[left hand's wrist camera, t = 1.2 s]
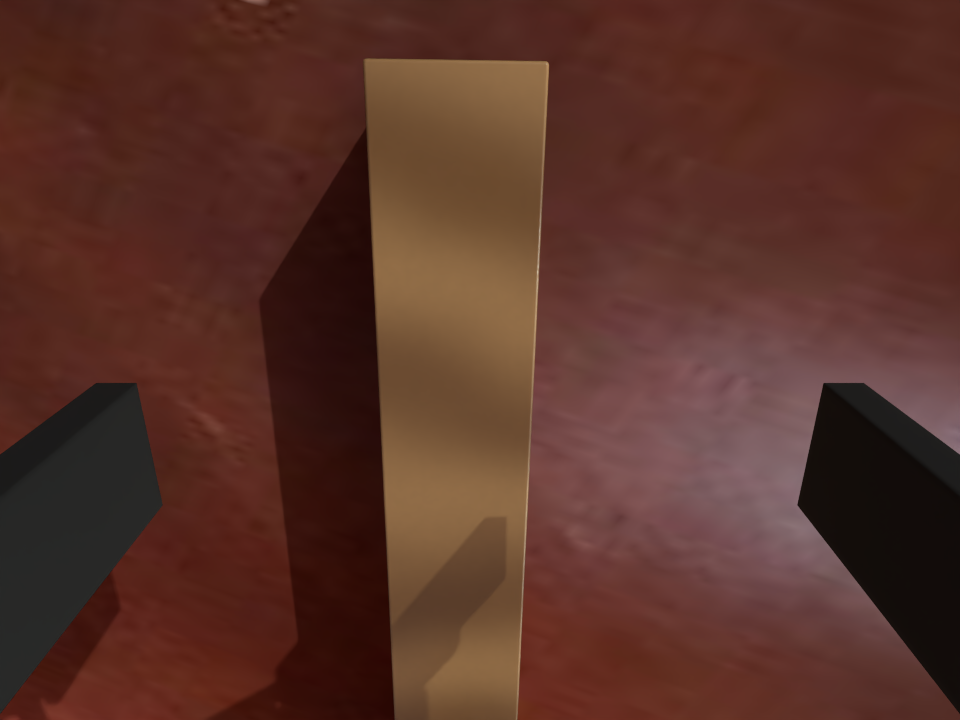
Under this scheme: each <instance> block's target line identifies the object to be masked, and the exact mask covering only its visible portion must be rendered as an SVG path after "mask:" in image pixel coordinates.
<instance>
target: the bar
mask: <svg viewBox="0 0 960 720" xmlns="http://www.w3.org/2000/svg"><path fill="white" fill-rule="evenodd" d="M363 73H364V93H365V114H366V135H367V156H368V177H369V198H370V219H371V239H372V260H373V281H374V302H375V323H376V344H377V365H378V385H379V406H380V427H381V448H382V469H383V490H384V511H385V531H386V552H387V573H388V594H389V615H390V636H391V657H392V677H393V698H394V719H395V720H517V715H518V694H519V674H520V653H521V632H522V612H523V591H524V570H525V550H526V529H527V508H528V488H529V467H530V446H531V426H532V405H533V384H534V364H535V343H536V322H537V302H538V281H539V261H540V240H541V219H542V199H543V178H544V157H545V137H546V116H547V95H548V75H549V64H548V62H546V61H496V60H429V59H364V61H363Z"/></svg>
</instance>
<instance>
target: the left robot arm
mask: <svg viewBox="0 0 960 720" xmlns="http://www.w3.org/2000/svg"><path fill="white" fill-rule="evenodd" d="M161 506H162V500H161V496H160V491H159V486H158V482H157V477H156V472H155V468H154V463H153V458H152V454H151V449H150V444H149V440H148V435H147V430H146V426H145V421H144V416H143V412H142V407H141V402H140V398H139V393H138V388H137V384H136V383H96V384H94V385H93V386H92V387H90V388H89V389H88V390H86V391H85V392H84V393H82V394H81V395H80V396H78V397H77V398H76V399H74V400H73V401H72V402H70V403H69V404H68V405H66V406H65V407H64V408H62V409H61V410H60V411H58V412H57V413H55V414H54V415H53V416H51V417H50V418H49V419H47V420H46V421H45V422H43V423H42V424H41V425H39V426H38V427H37V428H35V429H34V430H33V431H31V432H30V433H29V434H27V435H26V436H25V437H23V438H22V439H21V440H19V441H18V442H17V443H15V444H14V445H13V446H11V447H10V448H9V449H7V450H6V451H4V452H3V453H2V454H0V713H1V712H2V711H3V709H4V708H5V707H6V706H7V704H8V703H9V702H10V700H11V699H12V698H13V697H14V695H15V694H16V693H17V691H18V690H19V689H20V688H21V686H22V685H23V684H24V682H25V681H26V680H27V679H28V677H29V676H30V675H31V673H32V672H33V671H34V670H35V668H36V667H37V666H38V664H39V663H40V662H41V661H42V659H43V658H44V657H45V656H46V654H47V653H48V652H49V650H50V649H51V648H52V647H53V645H54V644H55V643H56V641H57V640H58V639H59V638H60V636H61V635H62V634H63V632H64V631H65V630H66V629H67V627H68V626H69V625H70V623H71V622H72V621H73V620H74V618H75V617H76V616H77V614H78V613H79V612H80V611H81V609H82V608H83V607H84V605H85V604H86V603H87V602H88V600H89V599H90V598H91V596H92V595H93V594H94V593H95V591H96V590H97V589H98V587H99V586H100V585H101V584H102V582H103V581H104V580H105V578H106V577H107V576H108V575H109V573H110V572H111V571H112V569H113V568H114V567H115V566H116V564H117V563H118V562H119V560H120V559H121V558H122V557H123V555H124V554H125V553H126V551H127V550H128V549H129V548H130V546H131V545H132V544H133V542H134V541H135V540H136V539H137V537H138V536H139V535H140V533H141V532H142V531H143V530H144V528H145V527H146V526H147V524H148V523H149V522H150V521H151V519H152V518H153V517H154V515H155V514H156V513H157V512H158V510H159V509H160V508H161ZM798 506H799V508H800V509H801V510H802V512H803V513H804V514H805V515H806V517H807V518H808V519H809V521H810V522H811V523H812V524H813V526H814V527H815V528H816V530H817V531H818V532H819V533H820V535H821V536H822V537H823V539H824V540H825V541H826V542H827V544H828V545H829V546H830V548H831V549H832V550H833V551H834V553H835V554H836V555H837V557H838V558H839V559H840V560H841V562H842V563H843V564H844V566H845V567H846V568H847V569H848V571H849V572H850V573H851V575H852V576H853V577H854V578H855V580H856V581H857V582H858V584H859V585H860V586H861V587H862V589H863V590H864V591H865V593H866V594H867V595H868V596H869V598H870V599H871V600H872V602H873V603H874V604H875V605H876V607H877V608H878V609H879V611H880V612H881V613H882V614H883V616H884V617H885V618H886V620H887V621H888V622H889V623H890V625H891V626H892V627H893V629H894V630H895V631H896V632H897V634H898V635H899V636H900V638H901V639H902V640H903V641H904V643H905V644H906V645H907V647H908V648H909V649H910V650H911V652H912V653H913V654H914V656H915V657H916V658H917V659H918V661H919V662H920V663H921V664H922V666H923V667H924V668H925V670H926V671H927V672H928V673H929V675H930V676H931V677H932V679H933V680H934V681H935V682H936V684H937V685H938V686H939V688H940V689H941V690H942V691H943V693H944V694H945V695H946V697H947V698H948V699H949V700H950V702H951V703H952V704H953V706H954V707H955V708H956V709H957V711H958V712H959V713H960V454H958V453H957V452H956V451H954V450H953V449H951V448H950V447H949V446H947V445H946V444H945V443H943V442H942V441H941V440H939V439H938V438H937V437H935V436H934V435H933V434H931V433H930V432H929V431H927V430H926V429H925V428H923V427H922V426H921V425H919V424H918V423H917V422H915V421H914V420H913V419H911V418H910V417H909V416H907V415H906V414H905V413H903V412H902V411H900V410H899V409H898V408H896V407H895V406H894V405H892V404H891V403H890V402H888V401H887V400H886V399H884V398H883V397H882V396H880V395H879V394H878V393H876V392H875V391H874V390H872V389H871V388H870V387H868V386H867V385H866V384H864V383H824V384H823V388H822V393H821V398H820V402H819V407H818V412H817V416H816V421H815V426H814V430H813V435H812V440H811V444H810V449H809V454H808V458H807V463H806V468H805V472H804V477H803V482H802V486H801V491H800V495H799V500H798Z"/></svg>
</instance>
